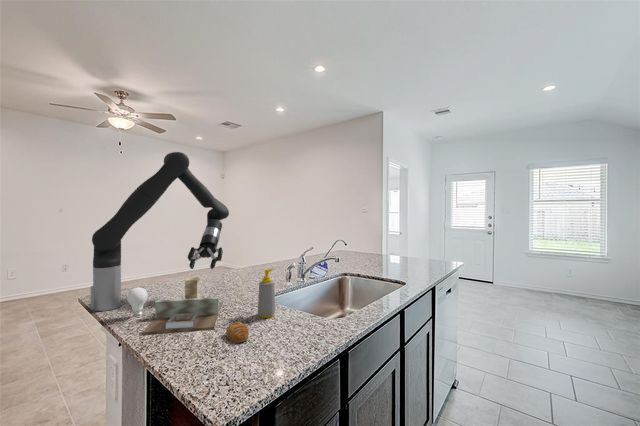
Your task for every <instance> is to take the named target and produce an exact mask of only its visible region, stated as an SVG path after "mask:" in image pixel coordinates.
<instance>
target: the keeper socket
mask: <svg viewBox="0 0 640 426" xmlns="http://www.w3.org/2000/svg"><path fill="white" fill-rule="evenodd" d="M197 319H198V313H186V314H173V315H172V316H171V318H170V319H169V320H168V321H167V323H166V330H168V329H181V328H193V327H194V325H195V323H196V321H197ZM178 320H191V321H181V322H175V321H178Z"/></svg>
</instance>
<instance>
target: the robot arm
mask: <svg viewBox="0 0 640 426" xmlns="http://www.w3.org/2000/svg"><path fill="white" fill-rule="evenodd" d="M189 166H190V158H189V157H188V155H187V154H186V153H184V152H180V151H173V152H169V153H167V154H166V155H165V156H164V157H163V164H162V166H160V168H159V169H158V171H156V173H154V174H153V175H152V176H150V177H148V178H147V179H146V180H144V181H143V182H141V184H140V185H139V186H137V188H135V189H134V191H132V192H131V194H130V195H129V196H128V197H127V199H126V200H125V201H124V202H123V203H122V205H121V206H120V208H119V209H118V211H116V213H115V214H114V216H113V217H112V218H110V219H109V220H108V221H107V222H106V223H105V224H103V225H102V226H101V227H100V228H99V229H97V230H96V231H95V232H93V234H92V237H91V242H92V244H93V257H92V258H93V259H92V283H93V284H92V285H91V286H90V311H94V312H106V311H111V310H115V309H117V308H120V307H121V306H122V239H123V238H124V237H125V235H126V234H127V232H128V231H129V230H130V228H131V227H132V226H133V225H135V223H137V222H138V220H140V219H141V218H142V217H144V215H146V213H147V212H149V211H150V210H151V209H152V207H153V206H154V205H155V204H156V203H157V202H158V201H159V200H160V198H162V196H163V195H164V193H165V192H166V191H167V190H168V188H169V187H170V186H171V185H172V184H173V183H174V182H175V181H176V179H179V181H180V182H182V183H183V185H184V186H185V187H186V188H187V189H188V191H189V192H190V193H191V194H192V195H193V197H194V198H195V199H196V200H197V201H198V202H199V204H200V205H201V206H202V207H203V208H204V209H209V208H211V209H210V210H208V212H207V214H206V223H207V224H206V227H205V230H204V231H203V234H202V236H201V240H200V243H199V246H198V248H195V247H194V246H191V248H190V250H189V253H188V254H187V259H188V261H190V263H189V268H190V269H191V270H193V269H194V268H195V265H196V261H198V260H201V258H202V259H203V258H205V259H207V258H211V262H210V265H209V266H210V267H209V268H210V269H211V270H213V269H214V268H215V267H216V264H217V262H221V261H222V258H223V253H224V250H223V247H222V246H220V247H218V245H219V241H220V238H221V232H222V228H223V223H222V220H225V219H227V218H228V217H229V215H230V212H229V211H230V210H229V209H228V207H227V206H226V204H224V203H223V202H221V201H219V200H218V199H217V198H215V196H214V195H213V194H212V193H211V192H210V190H209V189H208V187H207V186H205V184H204V183H202V182H201V181H200V180H199V179H198V178H197V177H196V176H195V175H194V174H193V172H192V171H191V170H190V168H189ZM216 253H217V256H215V254H216Z"/></svg>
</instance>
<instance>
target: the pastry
mask: <svg viewBox="0 0 640 426" xmlns="http://www.w3.org/2000/svg"><path fill="white" fill-rule="evenodd" d="M225 335H226V337H227V339H228V338H229V339H228V340H229V341H231V340H232V341H231V342H233V343H237V344H240V343H242V342H247V341H248V339H249V335H250V333H249V327H248V326H247V325H246V323H242V322H240V321H235V322H232V323H231V324H229V325H228V326H227V328H226V330H225Z"/></svg>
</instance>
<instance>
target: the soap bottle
mask: <svg viewBox="0 0 640 426" xmlns="http://www.w3.org/2000/svg"><path fill="white" fill-rule="evenodd" d="M273 270H275V268H273V267H272V268H271V267H270V268H266V269H263V271H264V276H263V278H262V279H261V281H259V283H258V297H257V298H258V299H257V314H258V316H259V317H260V318H262V319H267V318H268V319H269V318H272V317H274V315H275V313H276V292H275V291H276V290H275V281H274V280H272V278H271V276H270V275H269V274H270V273H269V272H271V271H273Z"/></svg>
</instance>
